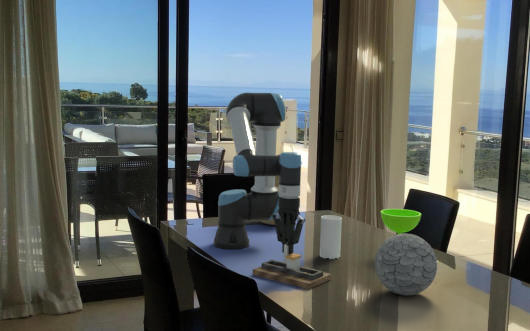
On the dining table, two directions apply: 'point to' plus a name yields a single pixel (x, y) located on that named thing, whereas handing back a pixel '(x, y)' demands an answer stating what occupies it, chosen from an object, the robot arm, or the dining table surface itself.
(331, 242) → the cup
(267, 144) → the robot arm
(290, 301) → the dining table surface
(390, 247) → the decorative sphere
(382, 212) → the wineglass
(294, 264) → the fader knob
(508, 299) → the dining table surface
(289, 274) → the wooden tray
